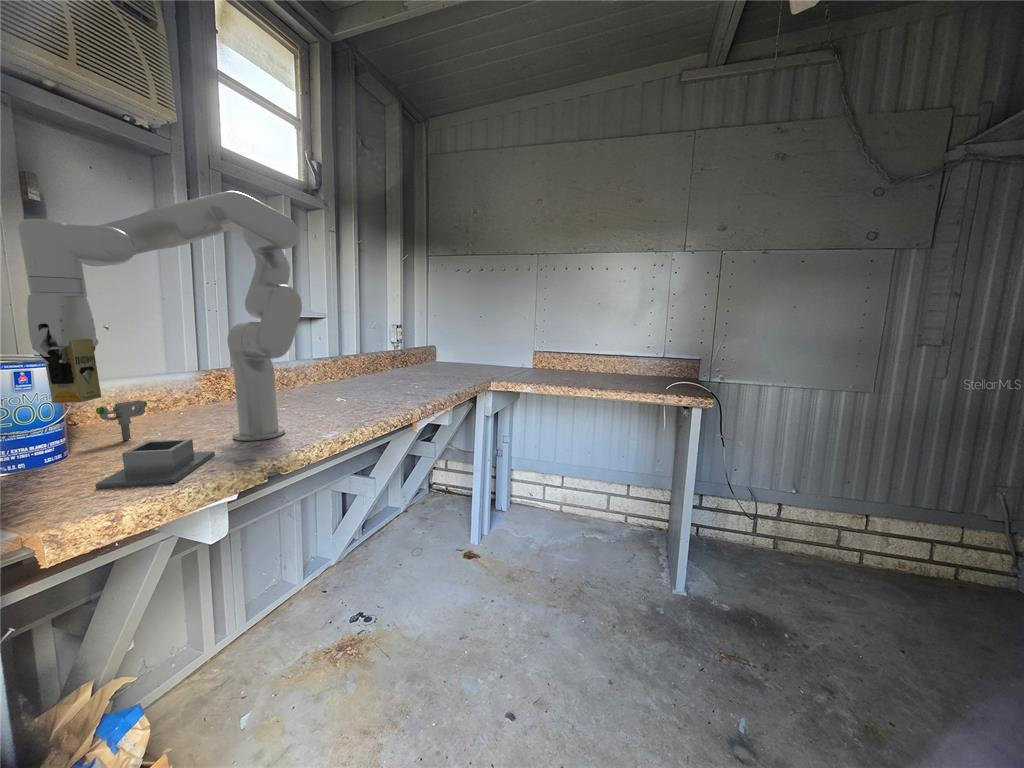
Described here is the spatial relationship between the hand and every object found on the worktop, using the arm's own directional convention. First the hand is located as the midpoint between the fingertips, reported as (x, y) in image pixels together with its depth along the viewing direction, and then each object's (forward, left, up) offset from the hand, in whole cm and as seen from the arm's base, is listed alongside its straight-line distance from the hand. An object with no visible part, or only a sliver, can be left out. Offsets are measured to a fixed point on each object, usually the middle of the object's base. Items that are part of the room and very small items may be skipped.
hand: (74, 380), depth 84 cm
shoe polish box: (0, 0, -4) cm, 4 cm away
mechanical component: (-28, -8, -20) cm, 35 cm away
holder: (-1, +13, -20) cm, 24 cm away
